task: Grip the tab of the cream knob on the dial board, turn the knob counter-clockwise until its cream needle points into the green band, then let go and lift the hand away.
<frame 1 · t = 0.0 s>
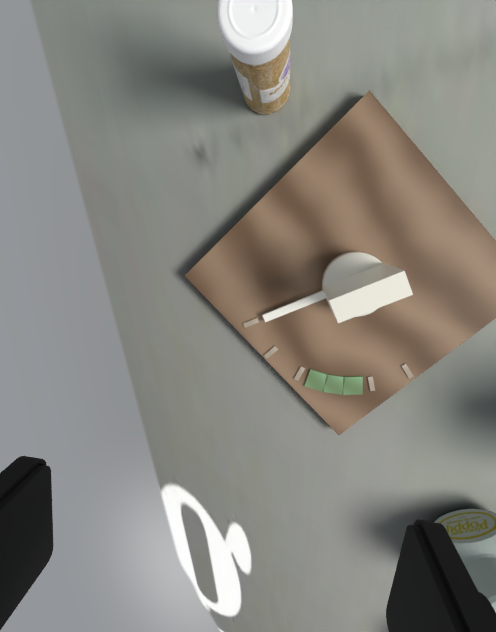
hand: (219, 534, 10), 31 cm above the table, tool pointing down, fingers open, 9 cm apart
dial board: (349, 279, 38), on the table
tuning knob: (325, 303, 33), point 6 cm above the table, hinge at -20.0°
air freshener: (461, 532, 44), on the table
sprinkles bottle: (266, 89, 35), on the table
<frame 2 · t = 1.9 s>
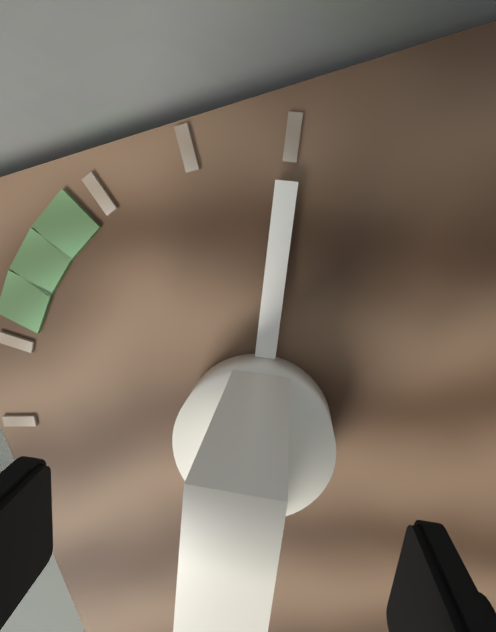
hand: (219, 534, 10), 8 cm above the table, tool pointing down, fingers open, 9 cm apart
dial board: (261, 402, 17), on the table
tuning knob: (256, 391, 11), point 6 cm above the table, hinge at -20.0°
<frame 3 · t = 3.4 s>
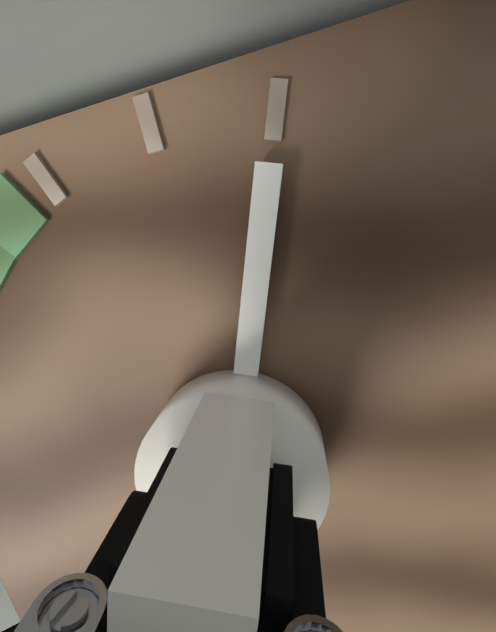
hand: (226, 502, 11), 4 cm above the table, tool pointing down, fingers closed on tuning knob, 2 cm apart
dial board: (243, 422, 15), on the table
tuning knob: (229, 425, 9), point 6 cm above the table, hinge at -20.0°, touching gripper
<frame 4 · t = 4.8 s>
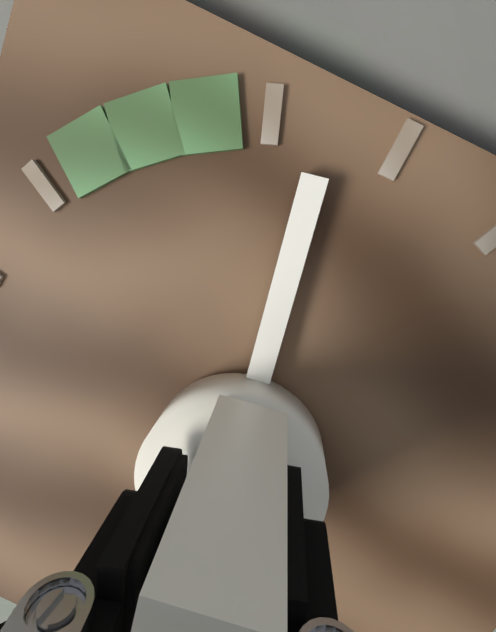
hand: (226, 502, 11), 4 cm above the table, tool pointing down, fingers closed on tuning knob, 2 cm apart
dial board: (243, 425, 15), on the table
tuning knob: (248, 434, 9), point 6 cm above the table, hinge at 11.4°, touching gripper
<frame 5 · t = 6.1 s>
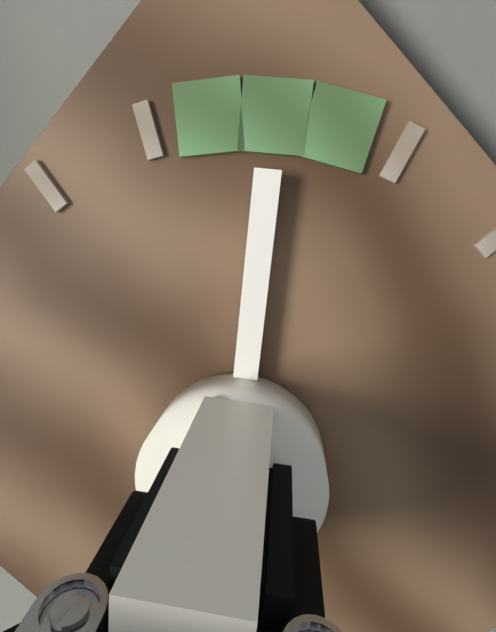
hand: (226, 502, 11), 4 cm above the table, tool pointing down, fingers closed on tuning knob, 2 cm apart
dial board: (243, 425, 15), on the table
tuning knob: (229, 430, 9), point 6 cm above the table, hinge at 39.9°, touching gripper
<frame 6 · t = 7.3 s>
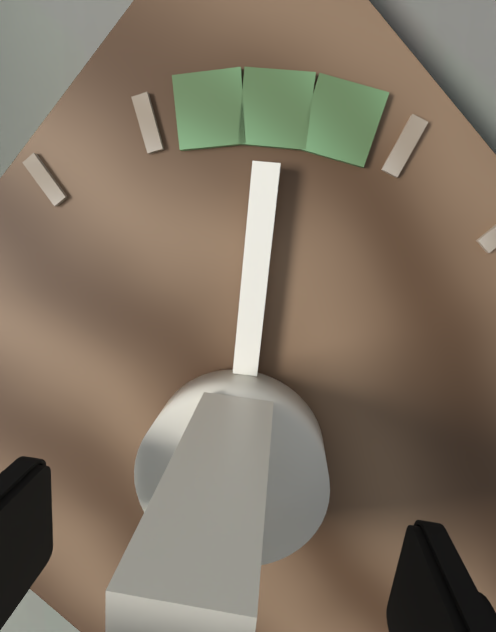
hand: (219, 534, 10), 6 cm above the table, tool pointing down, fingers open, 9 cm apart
dial board: (243, 422, 15), on the table
tuning knob: (228, 425, 9), point 6 cm above the table, hinge at 40.4°
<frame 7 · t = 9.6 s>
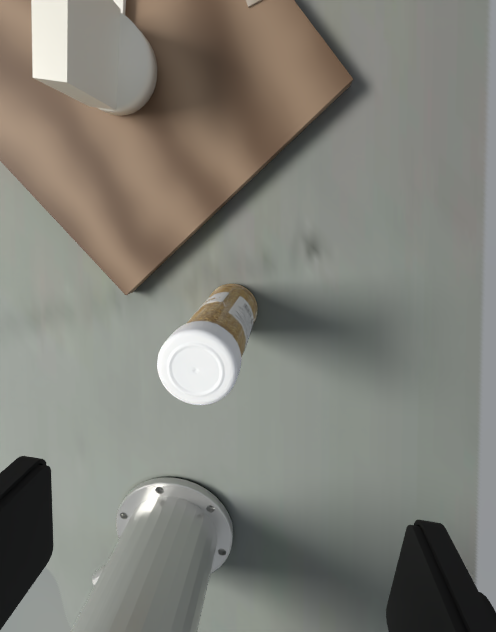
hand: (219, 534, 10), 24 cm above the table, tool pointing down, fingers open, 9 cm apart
dial board: (127, 78, 29), on the table
sprinkles bottle: (233, 307, 33), on the table
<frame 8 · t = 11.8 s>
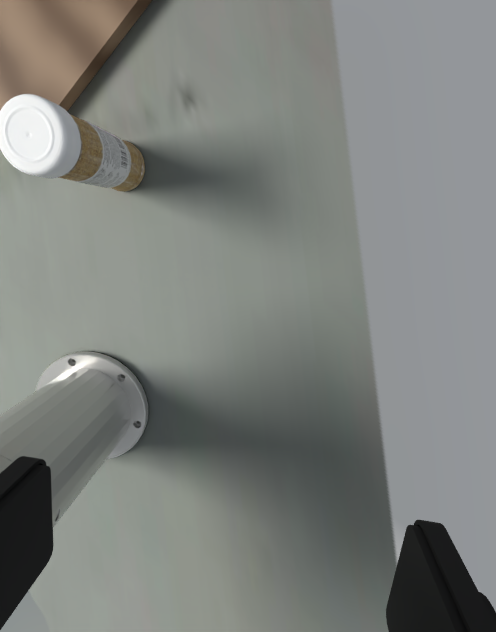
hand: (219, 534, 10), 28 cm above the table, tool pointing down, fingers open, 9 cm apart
sprinkles bottle: (124, 167, 35), on the table
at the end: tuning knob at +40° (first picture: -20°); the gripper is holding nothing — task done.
